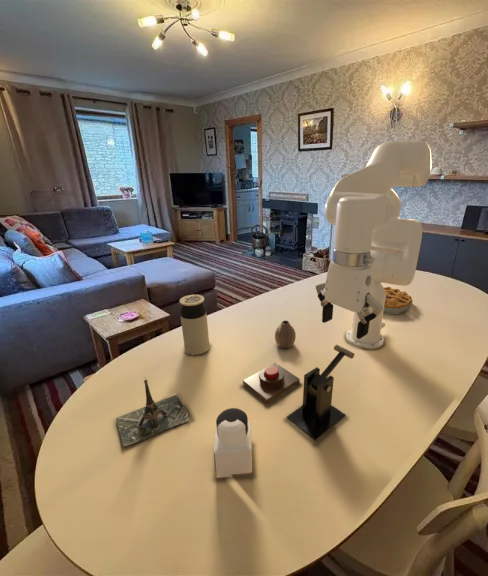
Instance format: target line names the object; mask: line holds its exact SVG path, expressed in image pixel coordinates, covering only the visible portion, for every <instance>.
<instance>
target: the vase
mask: <svg viewBox="0 0 488 576" xmlns="http://www.w3.org/2000/svg"><path fill="white" fill-rule="evenodd" d="M296 337H297V334H296V330H295V328H294V327H293V326H292V325H291V323H290V321H289V320H282V321H281V322H280V324H279V326H277V327H276V330H275V332H274V340H275V344H277V346H279V347H280V348H282V349H289V348H292V347H293V345H294V344H295V342H296Z"/></svg>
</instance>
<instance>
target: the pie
mask: <svg viewBox="0 0 488 576" xmlns="http://www.w3.org/2000/svg"><path fill="white" fill-rule="evenodd" d="M383 288H384V290H385V293H386V299H385V305H384V312H383V314H385V315H398V314H402V313H404V312H406V310H408V308H409V307H410V306H412V305H413V298H412V296H411V295H409V294H408V292H406V291H402V290H400V289H398V288H392V287H391V286H386V287H385V286H383Z"/></svg>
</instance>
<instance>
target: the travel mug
mask: <svg viewBox="0 0 488 576" xmlns="http://www.w3.org/2000/svg"><path fill="white" fill-rule="evenodd" d="M178 301H179V304H180V306H181V307H179V314H180V322H181V331H182V338H183V346H184V351H185V353H186V354H189V355H192V356H194V355H195V356H198V355H202V354H205V353H206V352H207V351H209V349H210V336H209V335H210V334H209V325H208V316H207V315H208V314H207V306H206V305H205V304H204V302H205V297H204V296H203V295H201V294H189V295H184V296H183V297H181V298H179V300H178Z"/></svg>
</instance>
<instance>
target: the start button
mask: <svg viewBox="0 0 488 576" xmlns="http://www.w3.org/2000/svg"><path fill="white" fill-rule="evenodd" d="M268 366H269V367H268ZM268 366H266V367H267V368H266V367H264V368H265V377H266V378H267V379H276V378H277V377H278V369H277V368H276V367H274V366H270V365H268Z"/></svg>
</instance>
